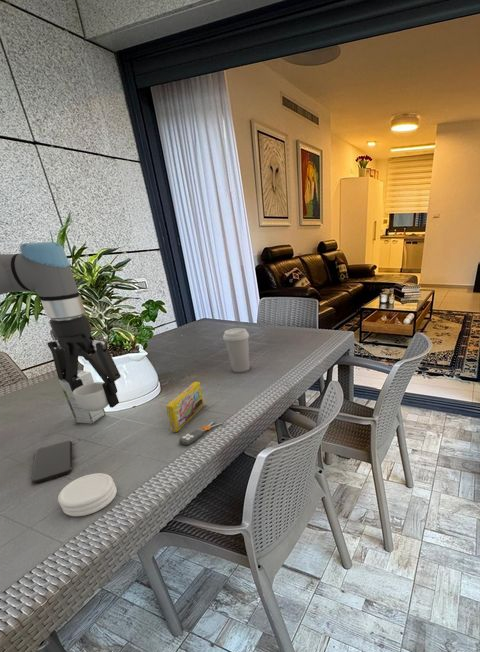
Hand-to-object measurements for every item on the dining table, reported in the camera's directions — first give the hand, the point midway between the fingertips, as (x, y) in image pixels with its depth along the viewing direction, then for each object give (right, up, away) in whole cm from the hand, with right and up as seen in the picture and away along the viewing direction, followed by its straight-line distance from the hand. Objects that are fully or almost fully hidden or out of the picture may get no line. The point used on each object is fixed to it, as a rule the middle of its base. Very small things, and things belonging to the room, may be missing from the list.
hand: (99, 404), depth 92 cm
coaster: (+9, -21, -17) cm, 28 cm away
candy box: (+19, -4, +13) cm, 23 cm away
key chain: (+25, -8, +5) cm, 27 cm away
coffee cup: (+27, +14, +45) cm, 54 cm away
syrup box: (-11, -4, +14) cm, 19 cm away
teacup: (0, 0, 0) cm, 0 cm away
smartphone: (-8, -14, -5) cm, 17 cm away
